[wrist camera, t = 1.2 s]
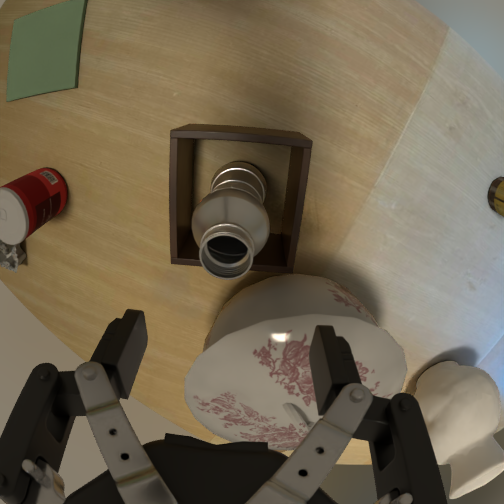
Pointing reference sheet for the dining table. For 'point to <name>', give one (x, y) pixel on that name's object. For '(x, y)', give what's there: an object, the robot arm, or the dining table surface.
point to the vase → (462, 423)
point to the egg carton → (11, 255)
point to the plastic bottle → (232, 221)
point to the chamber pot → (283, 359)
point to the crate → (181, 183)
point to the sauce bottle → (497, 195)
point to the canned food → (30, 204)
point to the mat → (46, 50)
